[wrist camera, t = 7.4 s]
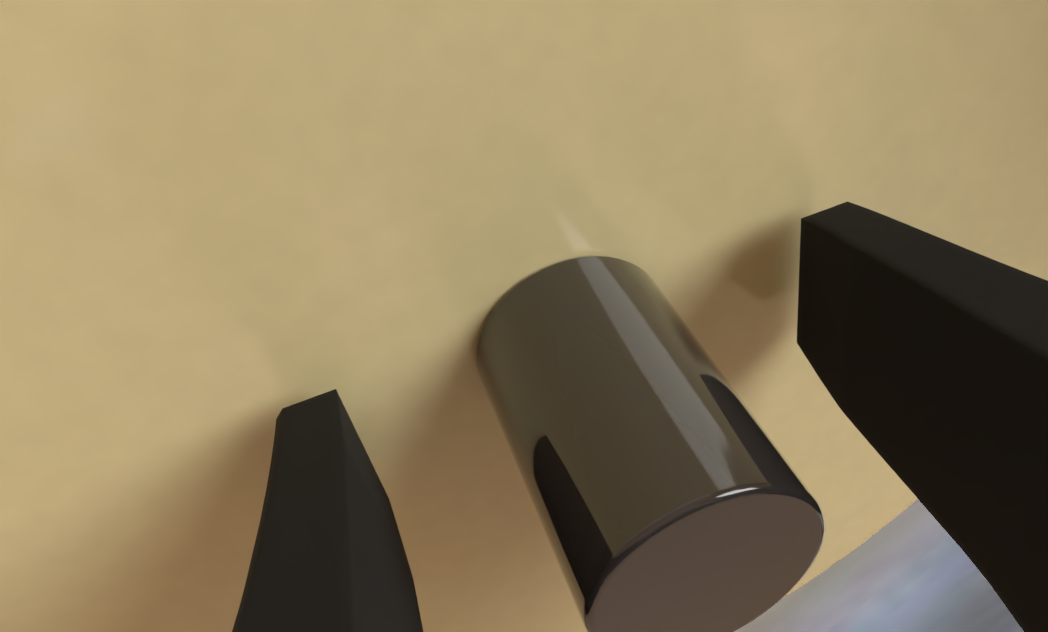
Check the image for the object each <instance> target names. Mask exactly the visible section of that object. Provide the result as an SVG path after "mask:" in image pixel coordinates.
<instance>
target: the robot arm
mask: <svg viewBox="0 0 1048 632" xmlns="http://www.w3.org/2000/svg"><path fill="white" fill-rule="evenodd" d="M797 344H798V345H799V347H800V348H801V350H802V352H803V353H804V355H805V356H806V358H807V359H808V361H809V363H810V364H811V366H812V367H813V369H814V370H815V372H816V374H817V375H818V377H819V378H820V380H821V381H822V383H823V384H824V386H825V387H826V389H827V390H828V392H829V393H830V394H831V396H832V397H833V399H834V400H835V402H836V403H837V405H838V406H839V408H840V409H841V410H842V411H843V413H844V414H845V415H846V416H847V417H848V419H849V420H850V421H851V422H852V423H853V425H854V426H855V427H856V428H857V429H858V430H859V431H860V433H861V434H862V435H863V436H864V437H865V438H866V440H867V441H868V442H869V443H870V444H871V445H872V447H873V448H874V449H875V450H876V451H877V452H878V454H879V455H880V456H881V457H882V458H883V459H884V460H885V462H886V463H887V464H888V465H889V466H890V467H891V468H892V470H893V471H894V472H895V473H896V474H897V475H898V476H899V478H900V479H901V480H902V481H903V482H904V483H905V484H906V486H907V487H908V488H909V489H910V490H911V491H912V492H913V494H914V495H915V496H916V497H917V498H918V499H919V500H920V502H921V503H922V504H923V505H924V506H925V507H926V508H927V510H928V511H929V512H930V513H931V514H932V515H933V516H934V518H935V519H936V520H937V521H938V522H939V523H940V524H941V526H942V527H943V528H944V529H945V530H946V531H947V532H948V534H949V535H950V536H951V537H952V538H953V539H954V540H955V541H956V543H957V544H958V545H959V546H960V547H961V548H962V550H963V551H964V552H965V553H966V554H967V556H968V557H969V558H970V559H971V561H972V562H973V563H974V564H975V566H976V567H977V568H978V569H979V571H980V572H981V573H982V574H983V576H984V577H985V578H986V579H987V581H988V582H989V583H990V585H991V586H992V587H993V589H994V590H995V592H996V593H997V594H998V596H999V597H1000V599H1001V600H1002V601H1003V603H1004V604H1005V606H1006V607H1007V608H1008V610H1009V611H1010V613H1011V614H1012V615H1013V617H1014V618H1015V620H1016V621H1017V622H1018V624H1019V625H1020V627H1021V628H1022V629H1023V631H1024V632H1048V281H1047V280H1045V279H1042V278H1039V277H1037V276H1034V275H1031V274H1029V273H1026V272H1024V271H1021V270H1019V269H1016V268H1013V267H1011V266H1008V265H1006V264H1003V263H1001V262H998V261H996V260H993V259H991V258H988V257H986V256H983V255H981V254H978V253H976V252H973V251H971V250H968V249H966V248H963V247H961V246H959V245H956V244H954V243H951V242H949V241H946V240H944V239H942V238H939V237H937V236H934V235H932V234H929V233H927V232H924V231H922V230H920V229H917V228H915V227H912V226H910V225H907V224H905V223H902V222H900V221H898V220H895V219H893V218H890V217H888V216H885V215H883V214H880V213H878V212H875V211H872V210H870V209H867V208H864V207H862V206H859V205H856V204H853V203H851V202H848V201H847V202H845V203H842V204H839V205H836V206H834V207H831V208H828V209H826V210H823V211H820V212H817V213H815V214H812V215H809V216H806V217H804V218H801V234H800V262H799V290H798V318H797ZM232 632H423V627H422V622H421V617H420V611H419V606H418V601H417V595H416V590H415V585H414V580H413V576H412V573H411V569H410V566H409V563H408V559H407V556H406V552H405V549H404V546H403V542H402V539H401V536H400V533H399V529H398V526H397V523H396V519H395V516H394V513H393V510H392V506H391V503H390V500H389V497H388V495H387V493H386V491H385V489H384V487H383V485H382V483H381V481H380V479H379V477H378V475H377V473H376V471H375V469H374V467H373V464H372V462H371V460H370V458H369V456H368V454H367V452H366V450H365V448H364V446H363V444H362V442H361V440H360V438H359V436H358V434H357V431H356V429H355V427H354V425H353V423H352V421H351V419H350V417H349V415H348V413H347V411H346V409H345V407H344V405H343V403H342V400H341V398H340V396H339V394H338V392H337V390H336V389H334V390H331V391H329V392H326V393H323V394H321V395H318V396H315V397H312V398H310V399H307V400H304V401H301V402H299V403H296V404H293V405H290V406H288V407H285V408H282V410H281V412H280V414H279V415H278V417H277V419H276V426H275V436H274V443H273V451H272V458H271V464H270V470H269V476H268V482H267V488H266V493H265V498H264V503H263V508H262V513H261V519H260V523H259V528H258V532H257V536H256V541H255V545H254V549H253V553H252V558H251V562H250V566H249V570H248V575H247V579H246V583H245V587H244V591H243V595H242V599H241V603H240V606H239V610H238V613H237V616H236V620H235V623H234V627H233V630H232Z"/></svg>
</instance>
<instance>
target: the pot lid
mask: <svg viewBox="0 0 1048 632" xmlns="http://www.w3.org/2000/svg"><path fill="white" fill-rule="evenodd" d="M847 201H848V202H851V203H853V204H856V205H859V206H862V207H864V208H867V209H870V210H872V211H875V212H878V213H880V214H883V215H885V216H888V217H890V218H893V219H895V220H898V221H900V222H902V223H905V224H907V225H910V226H912V227H915V228H917V229H920V230H922V231H924V232H927V233H929V234H932V235H934V236H937V237H939V238H942V239H944V240H946V241H949V242H951V243H954V244H956V245H959V246H961V247H963V248H966V249H968V250H971V251H973V252H976V253H978V254H981V255H983V256H986V257H988V258H991V259H993V260H996V261H998V262H1001V263H1003V264H1006V265H1008V266H1011V267H1013V268H1016V269H1019V270H1021V271H1024V272H1026V273H1029V274H1031V275H1034V276H1037V277H1039V278H1042V279H1045V280H1047V281H1048V0H0V632H232V630H233V627H234V623H235V620H236V616H237V613H238V610H239V606H240V603H241V599H242V595H243V591H244V587H245V583H246V579H247V575H248V570H249V566H250V562H251V558H252V553H253V549H254V545H255V541H256V536H257V532H258V528H259V523H260V519H261V513H262V508H263V503H264V498H265V493H266V488H267V482H268V476H269V470H270V464H271V458H272V451H273V443H274V436H275V426H276V419H277V417H278V415H279V414H280V412H281V410H282V408H285V407H288V406H290V405H293V404H296V403H299V402H301V401H304V400H307V399H310V398H312V397H315V396H318V395H321V394H323V393H326V392H329V391H331V390H334V389H336V390H337V392H338V394H339V396H340V398H341V400H342V403H343V405H344V407H345V409H346V411H347V413H348V415H349V417H350V419H351V421H352V423H353V425H354V427H355V429H356V431H357V434H358V436H359V438H360V440H361V442H362V444H363V446H364V448H365V450H366V452H367V454H368V456H369V458H370V460H371V462H372V464H373V467H374V469H375V471H376V473H377V475H378V477H379V479H380V481H381V483H382V485H383V487H384V489H385V491H386V493H387V495H388V497H389V500H390V503H391V506H392V510H393V513H394V516H395V519H396V523H397V526H398V529H399V533H400V536H401V539H402V542H403V546H404V549H405V552H406V556H407V559H408V563H409V566H410V569H411V573H412V576H413V580H414V585H415V590H416V595H417V601H418V606H419V611H420V617H421V622H422V627H423V632H734V631H736V630H737V629H739V628H741V627H743V626H744V625H746V624H748V623H749V622H751V621H753V620H754V619H756V618H757V617H759V616H760V615H761V614H763V613H764V612H766V611H767V610H768V609H770V608H771V607H772V606H773V605H775V604H776V603H777V602H778V601H780V600H781V599H782V598H783V597H785V596H787V595H788V594H790V593H792V592H793V591H795V590H797V589H798V588H800V587H801V586H803V585H805V584H806V583H807V582H809V581H810V580H812V579H813V578H815V577H816V576H817V575H819V574H820V573H822V572H823V571H825V570H826V569H828V568H829V567H830V566H832V565H833V564H835V563H836V562H838V561H839V560H840V559H842V558H843V557H845V556H846V555H848V554H849V553H851V552H852V551H853V550H855V549H856V548H857V547H859V546H860V545H861V544H862V543H864V542H865V541H866V540H868V539H869V538H870V537H871V536H873V535H874V534H875V533H876V532H878V531H879V530H880V529H881V528H883V527H884V526H885V525H887V524H888V523H889V522H890V521H892V520H893V519H894V518H895V517H897V516H898V515H899V514H900V513H902V512H903V511H904V510H905V509H907V508H908V507H909V506H910V505H911V504H912V503H913V502H914V501H916V500H917V499H918V498H917V497H916V496H915V495H914V494H913V492H912V491H911V490H910V489H909V488H908V487H907V486H906V484H905V483H904V482H903V481H902V480H901V479H900V478H899V476H898V475H897V474H896V473H895V472H894V471H893V470H892V468H891V467H890V466H889V465H888V464H887V463H886V462H885V460H884V459H883V458H882V457H881V456H880V455H879V454H878V452H877V451H876V450H875V449H874V448H873V447H872V445H871V444H870V443H869V442H868V441H867V440H866V438H865V437H864V436H863V435H862V434H861V433H860V431H859V430H858V429H857V428H856V427H855V426H854V425H853V423H852V422H851V421H850V420H849V419H848V417H847V416H846V415H845V414H844V413H843V411H842V410H841V409H840V408H839V406H838V405H837V403H836V402H835V400H834V399H833V397H832V396H831V394H830V393H829V392H828V390H827V389H826V387H825V386H824V384H823V383H822V381H821V380H820V378H819V377H818V375H817V374H816V372H815V370H814V369H813V367H812V366H811V364H810V363H809V361H808V359H807V358H806V356H805V355H804V353H803V352H802V350H801V348H800V347H799V345H798V344H797V318H798V290H799V262H800V234H801V218H804V217H806V216H809V215H812V214H815V213H817V212H820V211H823V210H826V209H828V208H831V207H834V206H836V205H839V204H842V203H845V202H847Z"/></svg>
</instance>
